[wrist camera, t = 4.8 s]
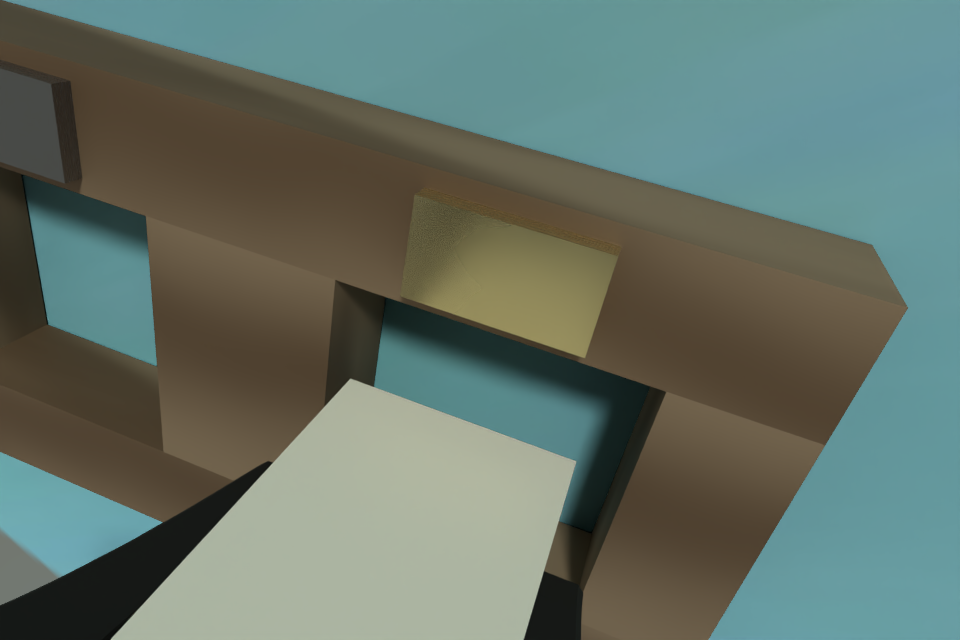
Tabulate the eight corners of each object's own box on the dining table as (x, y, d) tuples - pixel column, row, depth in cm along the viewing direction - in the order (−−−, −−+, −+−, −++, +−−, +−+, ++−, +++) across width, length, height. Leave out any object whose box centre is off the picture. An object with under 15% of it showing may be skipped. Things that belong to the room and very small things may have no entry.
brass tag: (589, 346, 11) (584, 358, 10) (409, 286, 11) (400, 295, 11) (621, 246, 10) (618, 256, 10) (424, 187, 10) (415, 194, 10)
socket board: (660, 638, 17) (651, 733, 15) (-8, 367, 20) (-92, 412, 18) (872, 245, 11) (907, 308, 9) (-99, -28, 15) (-235, -29, 13)
